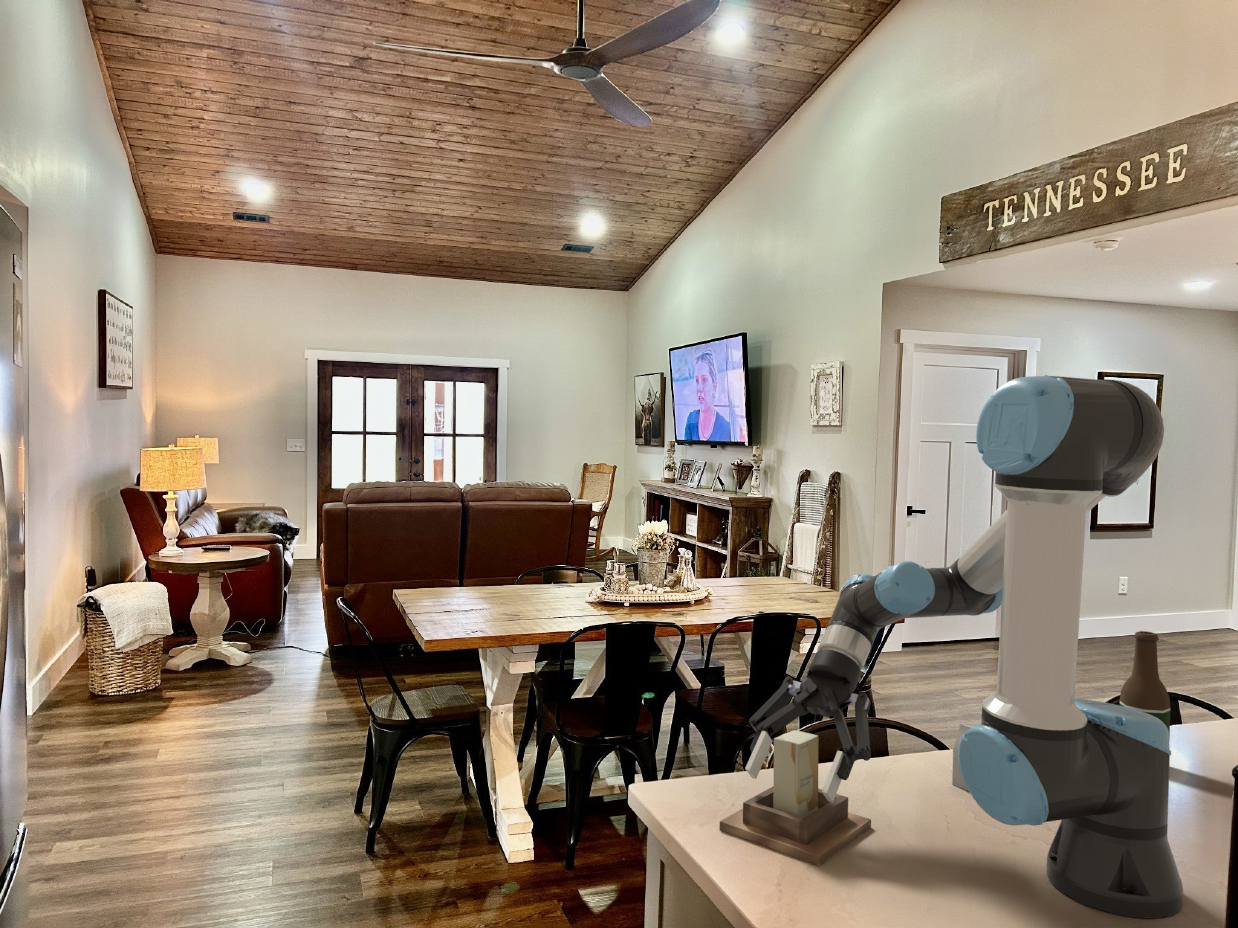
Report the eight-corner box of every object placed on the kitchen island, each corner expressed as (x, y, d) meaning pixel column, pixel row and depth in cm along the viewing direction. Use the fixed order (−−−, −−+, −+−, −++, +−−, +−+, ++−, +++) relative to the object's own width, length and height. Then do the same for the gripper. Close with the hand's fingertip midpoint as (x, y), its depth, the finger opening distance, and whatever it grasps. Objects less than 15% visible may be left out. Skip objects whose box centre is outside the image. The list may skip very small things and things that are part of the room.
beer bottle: (1168, 763, 156) (1171, 631, 155) (1169, 776, 149) (1172, 639, 149) (1118, 754, 160) (1122, 626, 160) (1117, 766, 153) (1120, 633, 153)
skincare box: (798, 830, 122) (798, 744, 122) (772, 822, 125) (771, 738, 125) (820, 816, 127) (819, 733, 127) (794, 808, 130) (793, 728, 130)
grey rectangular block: (988, 798, 138) (990, 737, 138) (952, 784, 144) (953, 725, 144) (1002, 794, 140) (1003, 733, 140) (965, 780, 146) (967, 722, 146)
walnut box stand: (870, 827, 127) (871, 798, 126) (818, 865, 114) (819, 833, 114) (776, 797, 137) (776, 771, 137) (719, 829, 125) (720, 800, 125)
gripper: (920, 689, 129) (874, 822, 118) (780, 662, 145) (727, 776, 134) (906, 660, 125) (857, 794, 114) (764, 635, 141) (708, 751, 130)
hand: (787, 785), depth 124 cm, fingers open, 12 cm apart
